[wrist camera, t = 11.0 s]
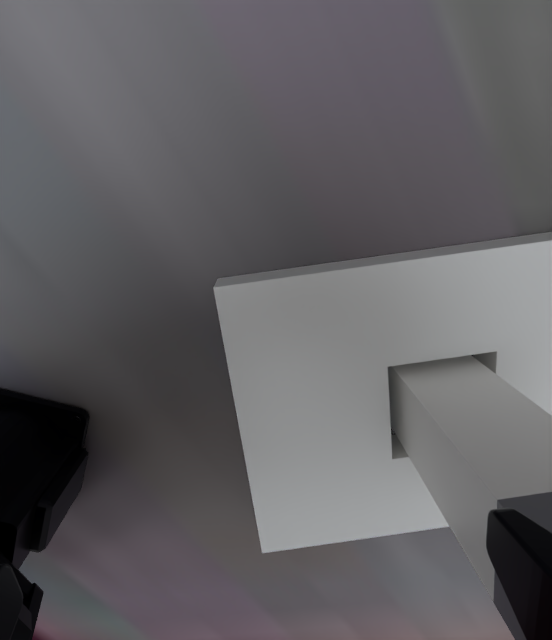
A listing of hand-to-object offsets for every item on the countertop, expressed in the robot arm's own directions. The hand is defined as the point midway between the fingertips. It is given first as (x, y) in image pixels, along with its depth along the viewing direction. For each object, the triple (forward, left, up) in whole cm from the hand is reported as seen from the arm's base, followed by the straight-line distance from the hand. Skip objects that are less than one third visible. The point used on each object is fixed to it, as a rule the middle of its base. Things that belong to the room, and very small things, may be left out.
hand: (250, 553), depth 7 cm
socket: (+8, -1, -13) cm, 16 cm away
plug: (+10, -1, -13) cm, 16 cm away
